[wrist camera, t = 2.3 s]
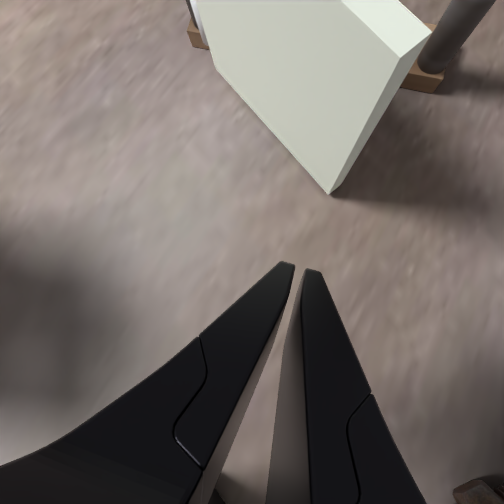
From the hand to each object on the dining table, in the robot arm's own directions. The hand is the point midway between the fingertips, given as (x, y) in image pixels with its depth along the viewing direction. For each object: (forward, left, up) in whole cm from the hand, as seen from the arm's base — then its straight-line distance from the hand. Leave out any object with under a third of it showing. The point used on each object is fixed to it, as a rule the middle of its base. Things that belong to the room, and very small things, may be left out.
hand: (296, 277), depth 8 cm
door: (+8, +10, -13) cm, 18 cm away
